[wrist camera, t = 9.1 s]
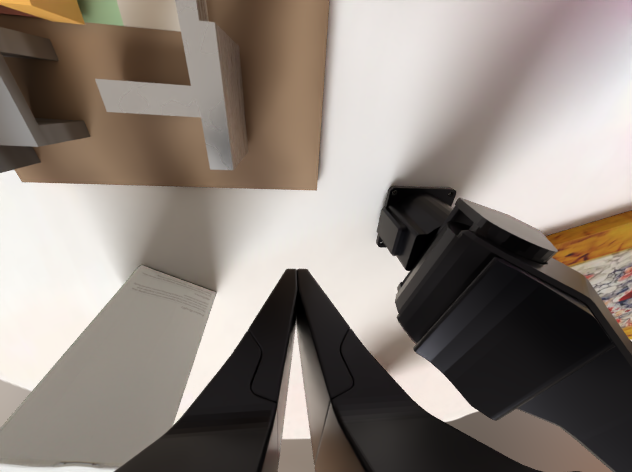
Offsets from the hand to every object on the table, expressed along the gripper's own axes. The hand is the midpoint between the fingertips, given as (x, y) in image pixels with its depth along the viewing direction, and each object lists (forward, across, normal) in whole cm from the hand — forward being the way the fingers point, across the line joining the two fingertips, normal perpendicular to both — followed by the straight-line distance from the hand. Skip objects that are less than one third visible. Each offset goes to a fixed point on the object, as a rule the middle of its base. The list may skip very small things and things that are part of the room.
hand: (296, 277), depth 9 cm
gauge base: (+12, +9, -5) cm, 16 cm away
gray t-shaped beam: (+11, +7, -7) cm, 15 cm away
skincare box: (+13, +13, +14) cm, 23 cm away
